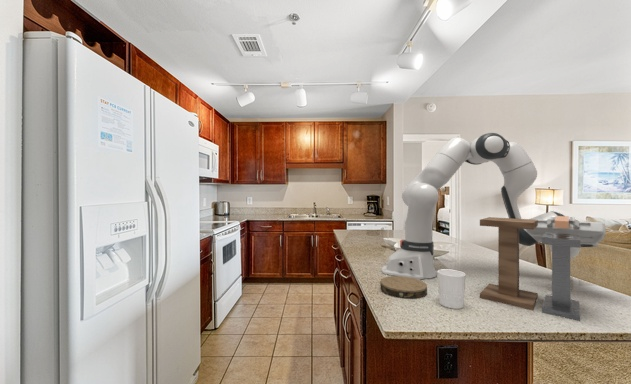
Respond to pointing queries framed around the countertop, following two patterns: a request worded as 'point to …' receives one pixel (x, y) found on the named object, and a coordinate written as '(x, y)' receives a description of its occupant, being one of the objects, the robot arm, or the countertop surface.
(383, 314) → the countertop surface
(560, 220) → the terracotta bar
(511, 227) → the walnut stand
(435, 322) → the countertop surface
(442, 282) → the white cup
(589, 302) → the countertop surface
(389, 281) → the round wood slice
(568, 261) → the grey stand
